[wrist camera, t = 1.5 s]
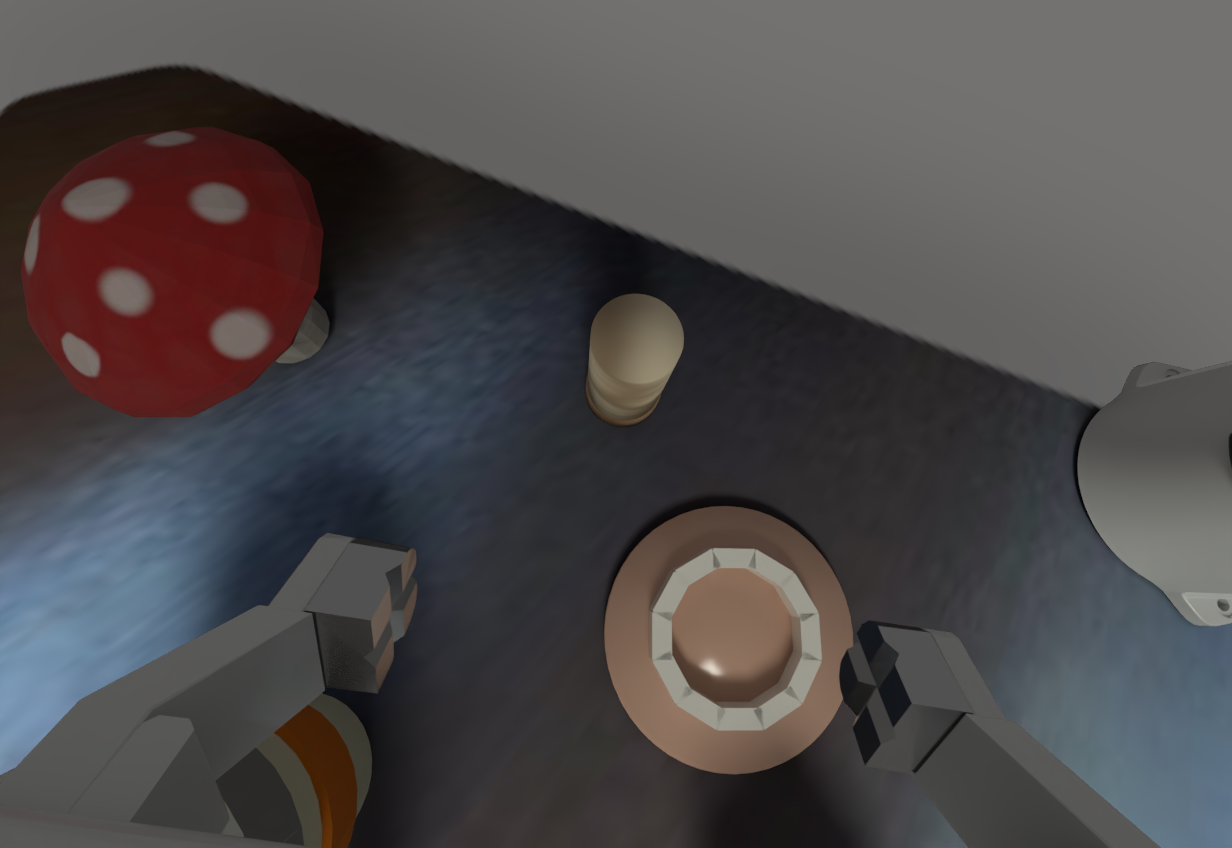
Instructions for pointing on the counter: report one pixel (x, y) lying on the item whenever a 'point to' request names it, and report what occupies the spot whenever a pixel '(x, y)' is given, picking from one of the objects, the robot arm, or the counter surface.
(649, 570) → the collar dish
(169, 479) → the counter surface
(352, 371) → the counter surface
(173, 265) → the decorative mushroom
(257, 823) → the reusable coffee cup
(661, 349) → the beige cylinder
